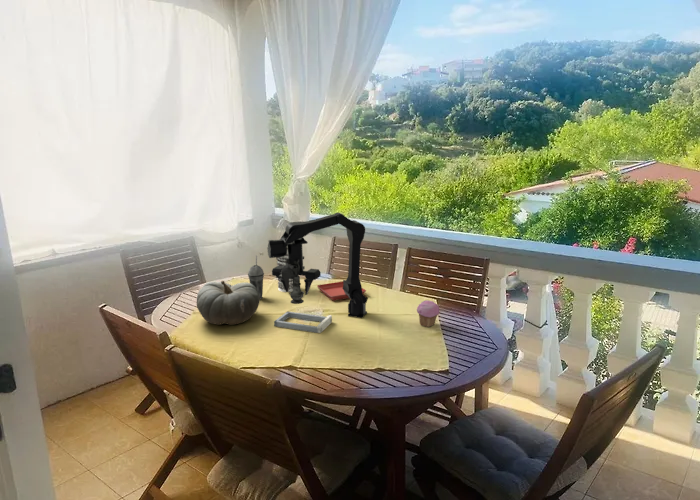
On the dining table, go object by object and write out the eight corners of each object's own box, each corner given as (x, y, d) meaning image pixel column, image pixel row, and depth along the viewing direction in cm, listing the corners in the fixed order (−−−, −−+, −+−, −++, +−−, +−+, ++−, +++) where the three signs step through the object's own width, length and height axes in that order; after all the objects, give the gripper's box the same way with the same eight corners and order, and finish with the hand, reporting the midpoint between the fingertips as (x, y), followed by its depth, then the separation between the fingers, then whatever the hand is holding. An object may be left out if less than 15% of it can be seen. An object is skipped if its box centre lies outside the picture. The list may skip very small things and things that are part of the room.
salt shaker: (287, 300, 197) (286, 271, 194) (301, 298, 199) (300, 269, 196) (292, 305, 192) (291, 275, 189) (306, 302, 194) (305, 273, 191)
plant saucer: (316, 291, 236) (316, 284, 235) (350, 286, 244) (350, 279, 243) (330, 303, 220) (330, 296, 220) (366, 297, 228) (366, 290, 227)
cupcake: (425, 319, 202) (426, 296, 199) (443, 325, 196) (444, 301, 193) (412, 325, 196) (412, 301, 193) (429, 331, 190) (430, 307, 187)
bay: (331, 322, 199) (331, 315, 198) (320, 333, 188) (320, 325, 188) (287, 315, 205) (287, 309, 205) (274, 326, 195) (273, 319, 194)
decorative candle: (295, 292, 234) (293, 241, 228) (276, 292, 234) (273, 241, 228) (297, 286, 243) (296, 236, 236) (278, 286, 243) (276, 236, 237)
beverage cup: (246, 299, 224) (243, 257, 219) (254, 294, 231) (252, 253, 226) (259, 301, 222) (257, 259, 217) (268, 296, 228) (266, 254, 223)
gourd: (191, 306, 209) (195, 268, 204) (249, 307, 219) (255, 271, 215) (198, 334, 187) (203, 293, 182) (262, 334, 198) (268, 294, 193)
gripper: (263, 258, 187) (265, 297, 191) (308, 262, 180) (309, 302, 184) (277, 251, 197) (279, 288, 201) (320, 255, 190) (321, 293, 194)
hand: (296, 293), depth 195 cm, fingers closed on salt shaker, 8 cm apart
